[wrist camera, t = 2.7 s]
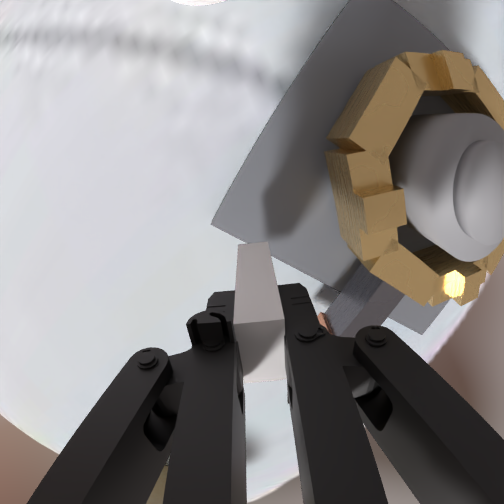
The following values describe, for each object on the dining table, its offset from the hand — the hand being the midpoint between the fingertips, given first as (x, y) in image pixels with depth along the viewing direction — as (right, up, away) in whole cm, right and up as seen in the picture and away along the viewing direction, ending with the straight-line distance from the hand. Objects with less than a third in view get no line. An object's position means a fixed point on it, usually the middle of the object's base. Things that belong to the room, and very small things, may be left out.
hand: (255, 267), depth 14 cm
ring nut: (+9, +3, +1) cm, 10 cm away
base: (+11, +6, +2) cm, 13 cm away
